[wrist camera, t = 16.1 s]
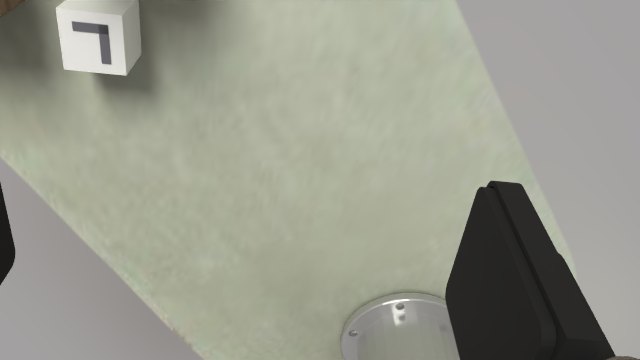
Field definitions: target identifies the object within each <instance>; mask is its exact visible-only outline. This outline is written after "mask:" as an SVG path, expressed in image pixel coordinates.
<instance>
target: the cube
mask: <svg viewBox="0 0 640 360" xmlns="http://www.w3.org/2000/svg"><path fill="white" fill-rule="evenodd" d="M56 15H57V22H58V29H59V37H60V44H61V51H62V59H63V66H64V69H66V70H76V71H85V72H95V73H105V74H115V75H124V76H127V74H128V73H129V71H130V70H131V68H132V67H133V65H134V64H135V63H136V61H137V60H138V58H139V57H140V55H141V54H142V51H141V34H140V16H139V0H65V1H64V2H63V3H62V4H60V5H59V6H58V7H57V8H56Z"/></svg>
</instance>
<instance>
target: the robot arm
mask: <svg viewBox="0 0 640 360" xmlns="http://www.w3.org/2000/svg"><path fill="white" fill-rule="evenodd" d="M14 259H15V247H14V242H13V238H12V233H11V228H10V224H9V219H8V215H7V210H6V206H5V201H4V197H3V192H2V189H1V184H0V285H1V283H2V282H3V280H4V279H5V277H6V276H7V274H8V272H9V271H10V269H11V268H12V266H13V263H14ZM445 298H446V300H443V299H441V298H439V297H436V296H432V295H428V294H422V293H398V294H393V295H387V296H384V297H381V298H378V299H375V300H373V301H371V302H369V303H367V304H365V305H364V306H362V307H361V308H359V309H358V310H357V311H356V312H355V313H354V314H353V315H352V316H351V317H350V318H349V319H348V321H347V322H346V324H345V325H344V328H343V331H342V334H341V351H342V356H343V358H344V360H640V359H637V358H633V357H629V356H615V354H614V352H613V350H612V348H611V346H610V344H609V343H608V341H607V339H606V337H605V335H604V333H603V332H602V330H601V328H600V326H599V324H598V322H597V320H596V318H595V316H594V314H593V312H592V311H591V309H590V307H589V305H588V303H587V301H586V299H585V297H584V296H583V294H582V292H581V290H580V288H579V286H578V284H577V282H576V280H575V279H574V277H573V275H572V273H571V271H570V269H569V267H568V265H567V264H566V262H565V260H564V258H563V257H562V256H561V254H559V253H558V252H557V250H556V249H555V247H554V245H553V243H552V241H551V239H550V237H549V235H548V233H547V231H546V230H545V228H544V226H543V224H542V222H541V220H540V218H539V216H538V214H537V212H536V210H535V209H534V207H533V205H532V203H531V201H530V199H529V197H528V195H527V193H526V191H525V190H524V188H523V186H522V185H521V184H519V183H511V182H501V181H490V182H489V183H488V185H487V187H480V188H479V189H478V190H477V193H476V196H475V199H474V202H473V205H472V208H471V211H470V214H469V218H468V221H467V224H466V227H465V230H464V233H463V236H462V239H461V243H460V246H459V249H458V252H457V255H456V258H455V261H454V265H453V268H452V271H451V274H450V277H449V280H448V283H447V287H446V296H445Z"/></svg>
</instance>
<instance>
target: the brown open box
mask: <svg viewBox="0 0 640 360" xmlns="http://www.w3.org/2000/svg"><path fill="white" fill-rule="evenodd" d="M23 1H24V0H0V17H1V16H3V15H4V14H5V13H7V12H8V11H10V10H11V9H13V8H14V7H16V6H17V5H19V4H20V3H21V2H23Z"/></svg>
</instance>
